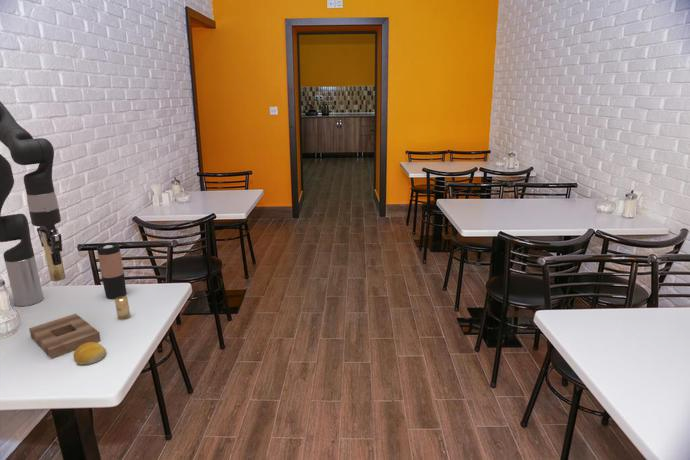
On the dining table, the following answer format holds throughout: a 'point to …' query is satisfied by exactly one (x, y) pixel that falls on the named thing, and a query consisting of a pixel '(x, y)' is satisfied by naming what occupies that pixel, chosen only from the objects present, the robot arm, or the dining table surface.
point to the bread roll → (89, 353)
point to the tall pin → (54, 270)
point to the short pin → (122, 307)
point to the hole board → (63, 335)
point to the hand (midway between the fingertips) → (54, 262)
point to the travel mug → (112, 270)
